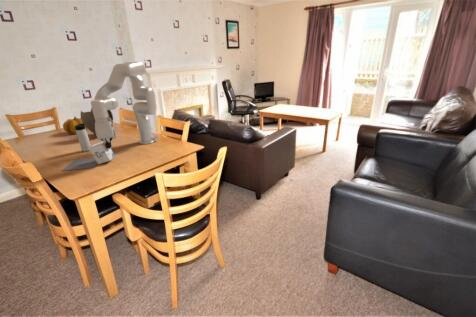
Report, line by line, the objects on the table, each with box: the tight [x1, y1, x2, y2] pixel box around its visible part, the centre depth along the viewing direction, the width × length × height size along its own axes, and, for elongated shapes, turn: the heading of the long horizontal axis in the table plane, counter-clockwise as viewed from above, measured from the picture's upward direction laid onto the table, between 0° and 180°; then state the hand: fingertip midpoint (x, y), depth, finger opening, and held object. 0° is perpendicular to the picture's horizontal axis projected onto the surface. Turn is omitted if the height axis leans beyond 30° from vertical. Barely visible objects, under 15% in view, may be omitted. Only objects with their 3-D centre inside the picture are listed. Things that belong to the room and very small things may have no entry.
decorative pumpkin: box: [62, 116, 89, 135], centre depth 226 cm, size 20×22×15 cm
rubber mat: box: [61, 157, 98, 172], centre depth 156 cm, size 18×18×1 cm
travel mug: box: [75, 124, 92, 153], centre depth 176 cm, size 6×7×20 cm
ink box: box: [89, 141, 116, 165], centre depth 156 cm, size 8×8×12 cm
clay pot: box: [80, 107, 114, 135], centre depth 211 cm, size 24×24×25 cm
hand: (109, 147), depth 155 cm, fingers closed
